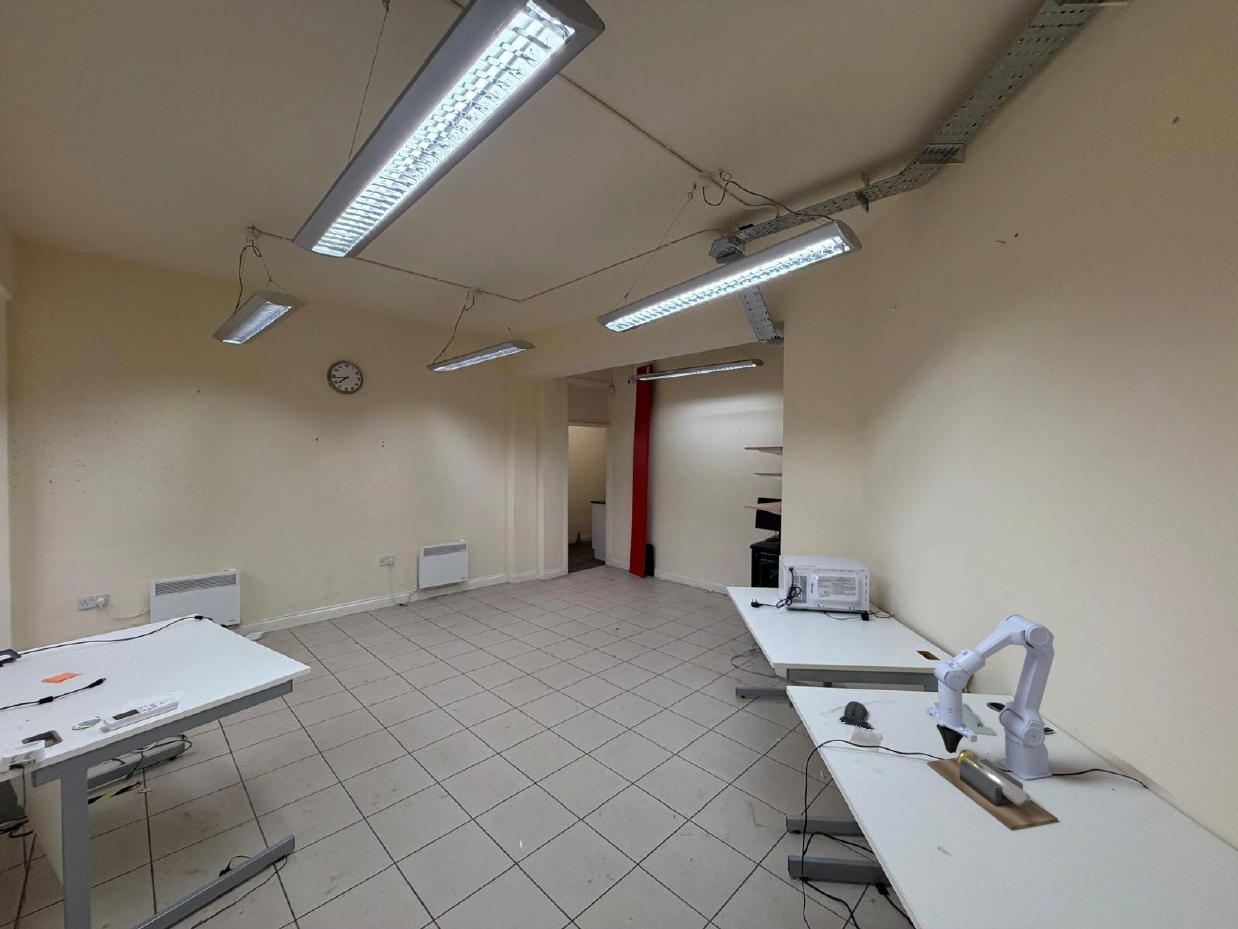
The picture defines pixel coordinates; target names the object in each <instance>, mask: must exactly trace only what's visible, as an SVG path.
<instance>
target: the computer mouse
mask: <svg viewBox="0 0 1238 929" xmlns="http://www.w3.org/2000/svg"><path fill="white" fill-rule="evenodd" d="M867 714H868V711H867V708H866V707H865V705H864V704H863V703H861V702H859V701H855V700H852V701H849V702H847V704H846V706H845V708H844V714H843V715H842V716H840V717H839V719H838V721H839V720H843V721H844V722H845V723H846V725H853V726H855V725H857V726H856V727H858V726H861V727H863V728H866V729H871V730H873V729H872V728H873V723H870V722H868V721H865V720H864V719H865V718H866V716H867ZM841 722H842V721H841ZM841 722H840V723H841ZM866 729H865V730H866Z"/></svg>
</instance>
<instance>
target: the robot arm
mask: <svg viewBox="0 0 1238 929" xmlns="http://www.w3.org/2000/svg"><path fill="white" fill-rule="evenodd" d="M1054 639H1055V635H1054V634H1053V633H1052V632H1051V631H1050V630H1049V629H1048V627H1046V626H1045V625H1043V624H1039V623H1038V622H1035V621H1032V620H1031V619H1029V618H1026V617H1024V616H1022V615H1020V614H1018V613H1017V614H1016V613H1013V614H1009V615H1007V616H1006V617H1005V618H1004V619H1002V620H1001V621H1000V622H999V624H998V627H997V628H996V629H995V630H994V631H993V632H992V633H990V634H989V635H988V636H987V637H986V638H985V639H984V640H982V641H981V642H980V643H979V644H978V645H977V646H975V648H972V647H969V648H968V647H966V648H965V649H964V648H963V649H961V650H959V653H958V654H957V655H955V656H954V657H952V658H951V659H949V660H947V662H941V663H939V664H937V665H936V666H935V669H933V670H932V671H933V674H934V676H935V677H936V679H937V684H938V686H937V687H938V688H937V689H938V698H937V699H938V703H939V711H938V709H937V708H934V707H926V714H927V715H928V716H932V717H933V718H934V719H935V720H936V723H937V724H936V729H937V730H938V732H939V733H940V734H939V735H940V736H941V738H942V740H943V745H944V746H945V747H944V748H945V750H946V751H947V752H948V753H949V754H954V753H956V752H957V749H958V747H959V745H960V742H961V740H962V739H963V738H966V739H967V741H968V742H970V743H976V742H978V734H975V733H973V732H972V731H971V730H970V729H969V728H968V727H967V726H966V725H965V724H964V723H963V712H962V705H963V689H965V688H966V687H967V685H968V681H969V680H970V677H972V675H974V674H976V672H978V671H980V670H981V669H982V668H984V667H985V666H986V660H987V659H988V658H989V657H991V656H993V655H994V654H996V653H998V652H1000V651H1001V650H1003V649H1004V648H1006V647H1008V646H1010V645H1012V646H1013V645H1016V646H1020V647H1021V646H1022V647H1023V648H1024V649H1025V651H1026V655H1025V657H1024V662H1023V665H1022V667H1021V668H1022V669H1021V672H1020V675H1019V680H1018V683H1017V686H1016V691H1015V694H1014V698H1013V700H1012V701H1008V702H1005V705H1004V708H1002V710H1001V711H1000V712H999V714H998V721H999V723H1000V725H1001V726H1002V727H1003V731H1004V748H1005V749H1004V752H1005V753H1004V755H1005V756H1004V758H1002V759H997V760H996V761H997V763H998V764H1000V765H1001V766H1003V767H1005V768H1006V769H1008V770H1009V771H1011V772H1012V773H1014V774H1015V775H1017V776H1018V777H1020V778H1021V779H1023V780H1025V781H1028V780H1033V779H1039V778H1040V779H1041V778H1044V777H1045V778H1046V777H1047V778H1048V777H1052V776H1053V774H1052V773H1051V772H1049V750H1048V749H1047V746H1046V744H1045V743H1044V742H1045V741H1046V734H1045V726H1046V724H1045V722H1044V721H1045V720H1043V717H1042V716H1041V714H1040V709H1041V704H1042V702H1043V696H1044V693H1045V689H1046V686H1047V683H1048V680H1049V679H1048V678H1049V674H1050V672H1051V668H1052V664H1053V660H1054V656H1055V648H1054V644H1053V642H1054Z"/></svg>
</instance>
